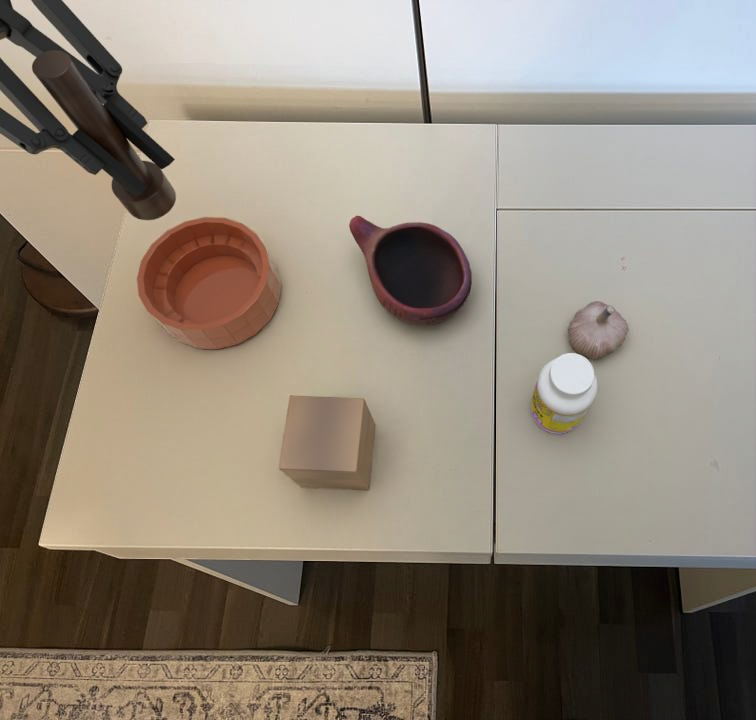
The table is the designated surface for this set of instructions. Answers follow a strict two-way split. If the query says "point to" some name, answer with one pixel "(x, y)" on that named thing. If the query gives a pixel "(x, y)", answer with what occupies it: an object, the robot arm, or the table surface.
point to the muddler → (104, 134)
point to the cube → (328, 443)
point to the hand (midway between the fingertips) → (154, 177)
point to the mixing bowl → (209, 282)
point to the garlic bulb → (597, 330)
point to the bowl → (414, 269)
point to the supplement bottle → (563, 393)
